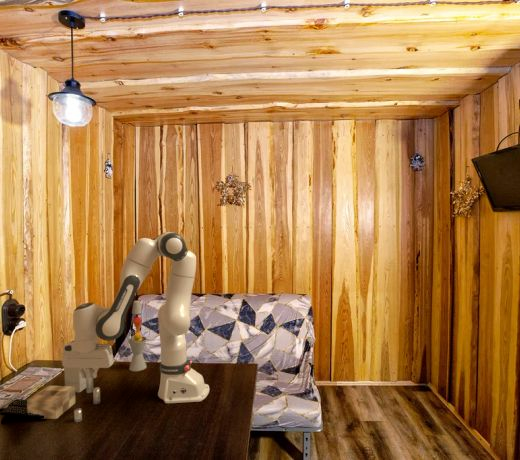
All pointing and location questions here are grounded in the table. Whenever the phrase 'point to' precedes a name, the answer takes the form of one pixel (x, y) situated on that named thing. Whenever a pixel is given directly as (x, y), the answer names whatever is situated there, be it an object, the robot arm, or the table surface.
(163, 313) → the robot arm
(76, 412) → the short steel pin
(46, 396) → the birch hole block
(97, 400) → the medium steel pin
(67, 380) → the supplement box
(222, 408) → the table surface
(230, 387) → the table surface
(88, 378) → the long steel pin
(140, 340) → the lava lamp
